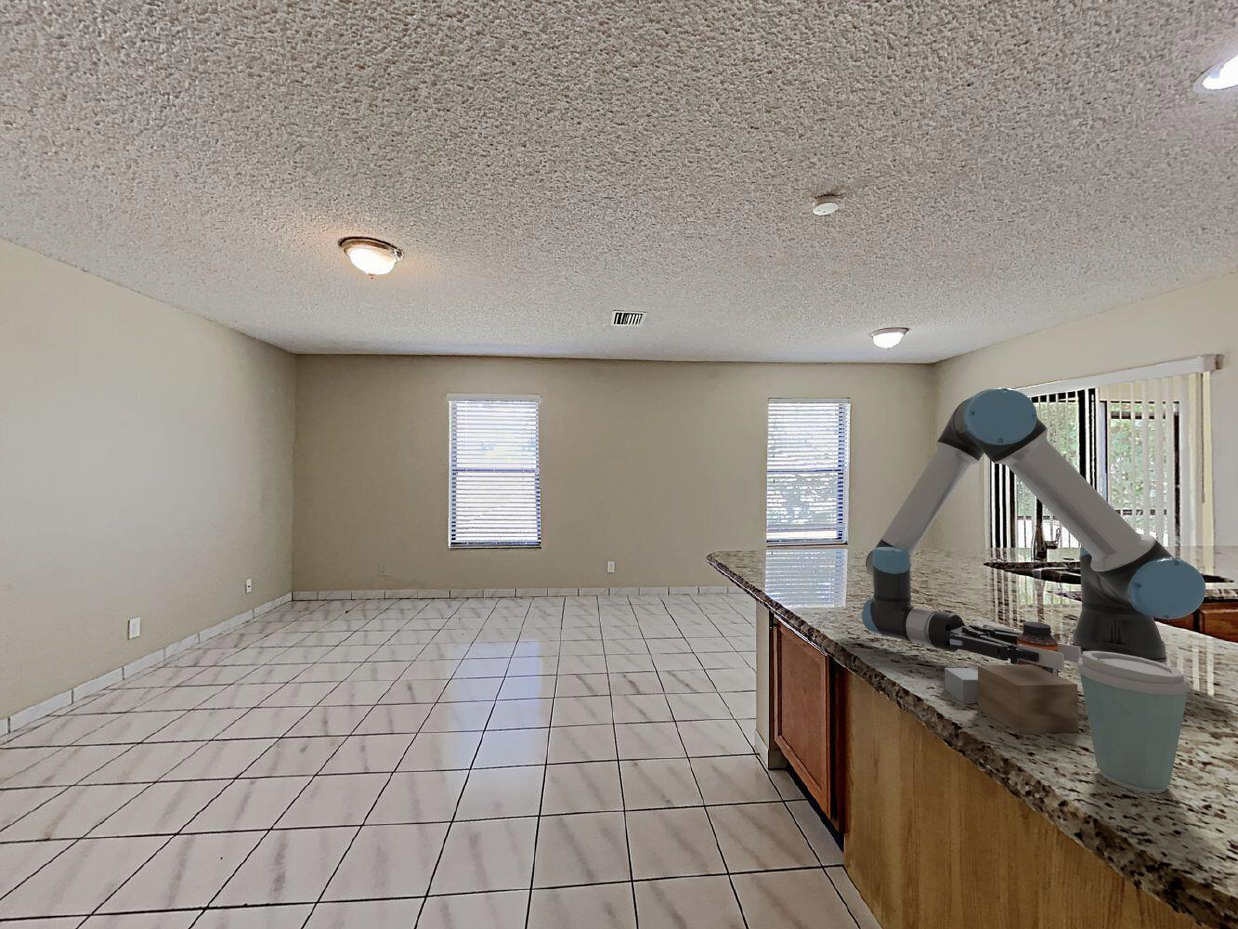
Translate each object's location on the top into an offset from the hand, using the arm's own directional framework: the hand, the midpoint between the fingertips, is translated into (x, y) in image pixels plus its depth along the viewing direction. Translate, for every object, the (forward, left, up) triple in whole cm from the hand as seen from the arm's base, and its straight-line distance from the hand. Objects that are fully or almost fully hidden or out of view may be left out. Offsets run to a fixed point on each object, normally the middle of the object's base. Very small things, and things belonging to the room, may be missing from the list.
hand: (1071, 658), depth 97 cm
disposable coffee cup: (+15, +27, -7) cm, 31 cm away
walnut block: (+15, +9, -7) cm, 18 cm away
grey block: (+17, -1, -7) cm, 18 cm away
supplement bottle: (+3, -4, -7) cm, 8 cm away
